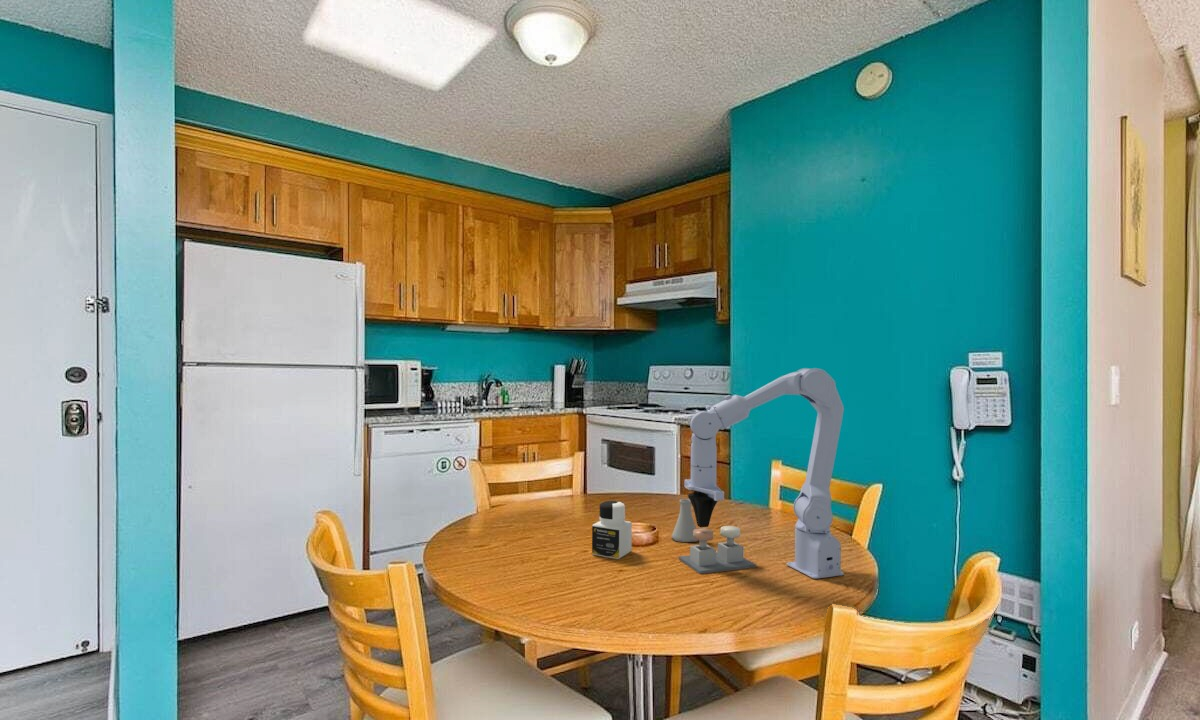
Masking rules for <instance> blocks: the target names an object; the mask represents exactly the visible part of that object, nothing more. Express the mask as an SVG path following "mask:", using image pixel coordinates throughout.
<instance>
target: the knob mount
mask: <svg viewBox="0 0 1200 720" xmlns="http://www.w3.org/2000/svg"><path fill="white" fill-rule="evenodd" d="M716 545H717V549H716V548H714V547H712V546H710V545H709V544H707V549H706V550H700V549H699V544H695V545H690V547H689V550H690V551H689V555H684V556H683V555H682V556H678V560H679V561H680V562H682V563H683V564H685V565H686V566H687V567H689V568H691V569H692V570H693V571H695V572H696V573H698V574H699V575H702V574H703V575H705V574H710V573H718V572H719V573H720V572H726V571H735V570H736V571H737V570H744V569H753V568H756V567H757V564H756V563H754V562H752V561H751V560H749V559H747V558H746V557H744V546H743V545H741V544H739V543H737V542H735V541H734V547H727V541H725V542H717V544H716Z"/></svg>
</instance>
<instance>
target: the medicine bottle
mask: <svg viewBox="0 0 1200 720" xmlns="http://www.w3.org/2000/svg"><path fill="white" fill-rule="evenodd" d="M598 516H599V521H597V522H594V523H593V524H592V526H591V529H592V530H591V531H592V533H591V534H592V535H591V554H592V555H593V556H597V557H598V556H599V557H604V558H607V559H608V558H609V559H613V560H615V559H616V560H619V559H621V558H623V557H624V556H626V555H627V554H629V553H630V552H632V539H633V538H632V531H633V530H632V529H633V528H632V527H633V526H632V521H629V520H628V521H627V520H626V505H625V504H624V502H623V503H622V501H619V500H606V501H603V502H601V503H600V504H599V515H598Z"/></svg>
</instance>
